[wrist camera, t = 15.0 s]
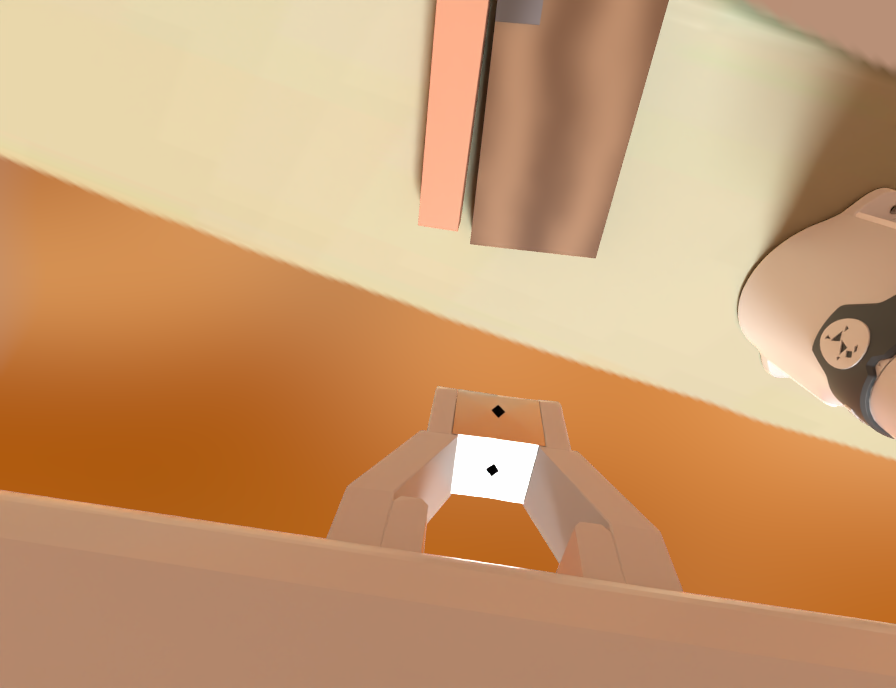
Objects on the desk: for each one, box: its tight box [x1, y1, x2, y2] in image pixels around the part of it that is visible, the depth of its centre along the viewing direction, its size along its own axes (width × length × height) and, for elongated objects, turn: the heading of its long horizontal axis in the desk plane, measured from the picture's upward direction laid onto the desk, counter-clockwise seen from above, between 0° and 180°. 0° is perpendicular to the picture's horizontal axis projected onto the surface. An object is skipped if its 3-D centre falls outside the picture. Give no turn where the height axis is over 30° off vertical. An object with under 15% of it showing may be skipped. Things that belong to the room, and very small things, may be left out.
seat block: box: [470, 0, 669, 258], centre depth 32 cm, size 11×20×4 cm, turn 175°
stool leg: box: [418, 0, 490, 231], centre depth 32 cm, size 18×4×4 cm, turn 173°
